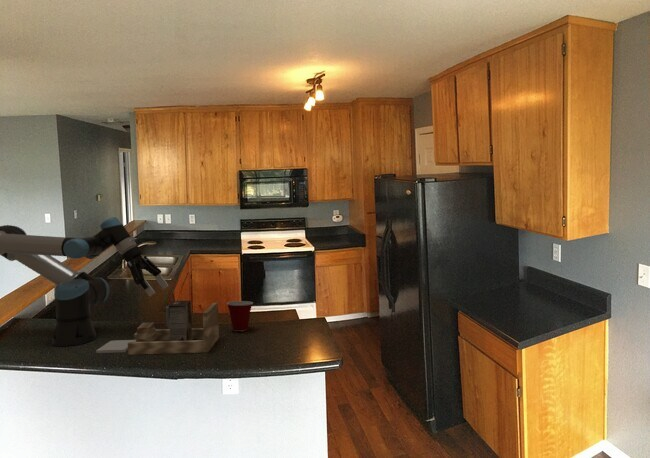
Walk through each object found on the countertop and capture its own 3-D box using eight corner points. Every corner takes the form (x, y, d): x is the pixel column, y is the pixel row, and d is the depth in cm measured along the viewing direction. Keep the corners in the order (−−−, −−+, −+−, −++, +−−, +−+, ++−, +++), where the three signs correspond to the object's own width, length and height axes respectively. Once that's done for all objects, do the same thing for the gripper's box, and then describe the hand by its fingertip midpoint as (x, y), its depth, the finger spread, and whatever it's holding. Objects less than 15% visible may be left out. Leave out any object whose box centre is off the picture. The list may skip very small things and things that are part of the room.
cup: (180, 332, 186) (179, 308, 186) (163, 331, 188) (162, 307, 187) (189, 327, 194) (188, 304, 193) (173, 326, 195) (172, 303, 195)
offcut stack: (134, 351, 162) (133, 329, 161) (144, 342, 172) (143, 322, 171) (148, 350, 162) (147, 328, 161) (158, 342, 172) (157, 321, 171)
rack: (128, 354, 158) (126, 315, 157) (147, 339, 176) (145, 304, 175) (208, 352, 158) (207, 312, 158) (218, 337, 176) (217, 302, 176)
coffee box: (175, 342, 171) (174, 300, 171) (192, 341, 172) (191, 299, 171) (169, 349, 162) (167, 305, 161) (187, 349, 163) (186, 304, 162)
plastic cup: (259, 328, 189) (258, 300, 189) (244, 335, 179) (243, 305, 179) (237, 326, 194) (237, 298, 193) (222, 332, 184) (221, 303, 183)
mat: (96, 353, 160) (96, 350, 160) (111, 343, 172) (111, 340, 172) (124, 352, 160) (124, 349, 160) (137, 342, 172) (137, 339, 172)
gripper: (121, 248, 176) (153, 292, 177) (149, 241, 201) (177, 280, 202) (106, 259, 177) (138, 303, 177) (136, 251, 201) (164, 289, 202)
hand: (159, 291), depth 189 cm, fingers open, 13 cm apart
